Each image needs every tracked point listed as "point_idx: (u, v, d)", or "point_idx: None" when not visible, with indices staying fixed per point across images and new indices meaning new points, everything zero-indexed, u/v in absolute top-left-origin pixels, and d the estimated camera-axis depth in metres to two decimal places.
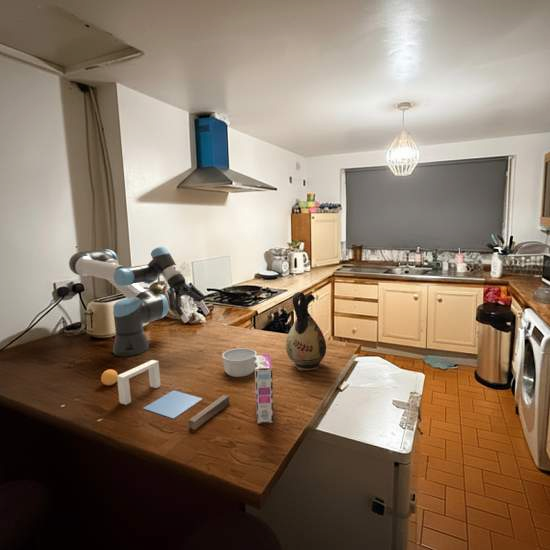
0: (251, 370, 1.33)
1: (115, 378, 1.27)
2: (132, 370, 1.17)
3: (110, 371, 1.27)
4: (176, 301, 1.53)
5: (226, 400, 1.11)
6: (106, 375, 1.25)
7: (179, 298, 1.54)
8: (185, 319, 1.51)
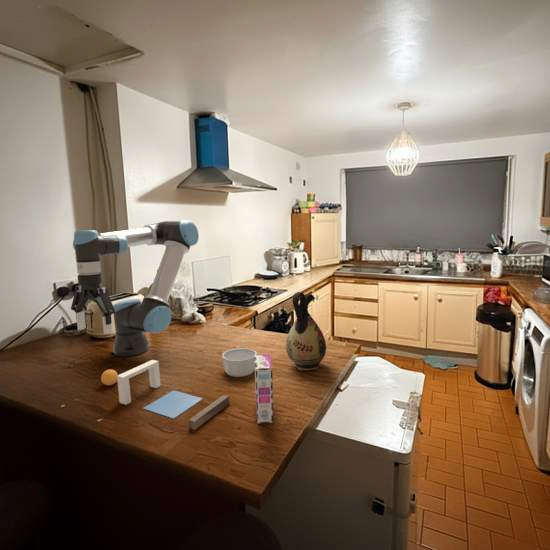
0: (251, 370, 1.33)
1: (115, 378, 1.27)
2: (132, 370, 1.17)
3: (110, 371, 1.27)
4: None
5: (226, 400, 1.11)
6: (106, 375, 1.25)
7: (79, 302, 1.29)
8: None
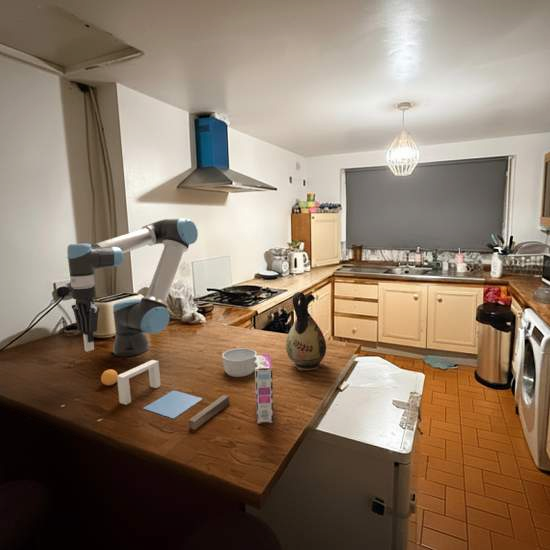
0: (251, 370, 1.33)
1: (115, 378, 1.27)
2: (132, 370, 1.17)
3: (110, 371, 1.27)
4: None
5: (226, 400, 1.11)
6: (106, 375, 1.25)
7: (81, 320, 1.29)
8: None
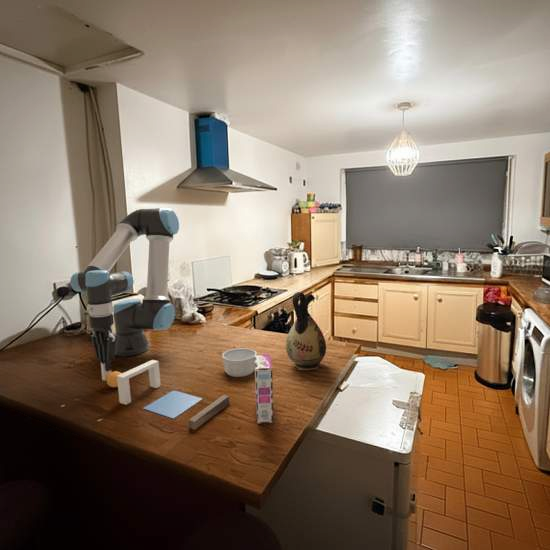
0: (251, 370, 1.33)
1: None
2: (132, 370, 1.17)
3: None
4: None
5: (226, 400, 1.11)
6: (113, 382, 1.23)
7: (98, 348, 1.25)
8: None
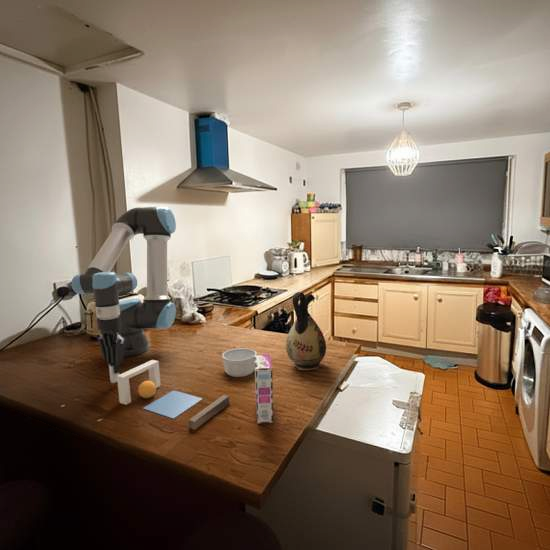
0: (251, 370, 1.33)
1: (152, 395, 1.17)
2: (132, 370, 1.17)
3: (151, 387, 1.16)
4: None
5: (226, 400, 1.11)
6: (146, 392, 1.15)
7: (106, 351, 1.24)
8: None
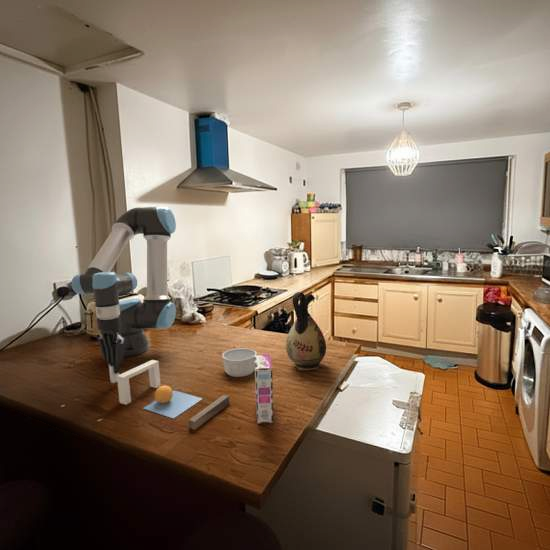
0: (251, 370, 1.33)
1: None
2: (132, 370, 1.17)
3: None
4: None
5: (226, 400, 1.11)
6: None
7: (106, 351, 1.24)
8: None
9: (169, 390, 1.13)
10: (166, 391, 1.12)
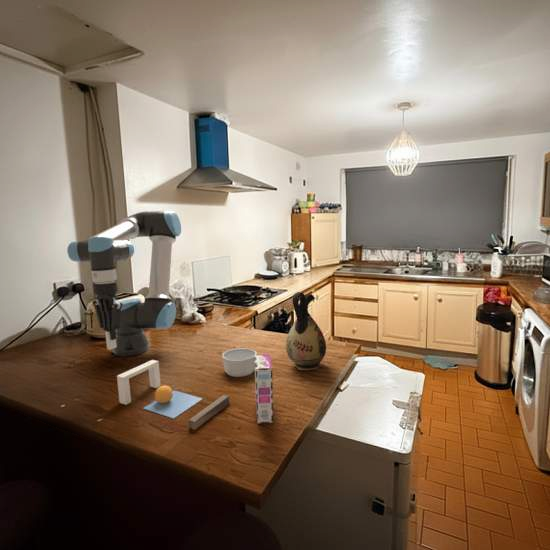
0: (251, 370, 1.33)
1: None
2: (132, 370, 1.17)
3: None
4: None
5: (226, 400, 1.11)
6: None
7: (103, 317, 1.22)
8: None
9: (169, 390, 1.13)
10: (166, 391, 1.12)
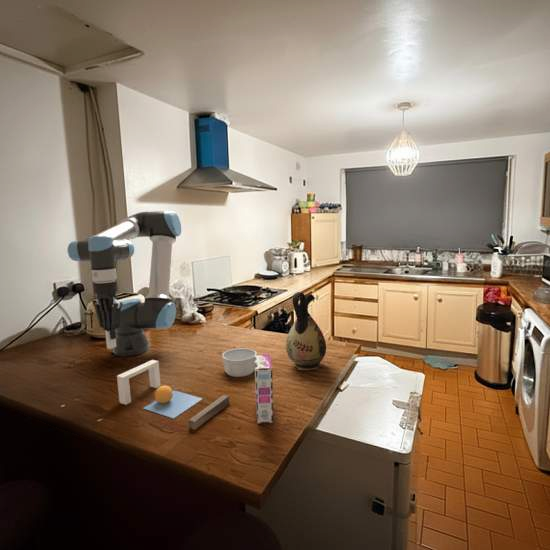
0: (251, 370, 1.33)
1: None
2: (132, 370, 1.17)
3: None
4: None
5: (226, 400, 1.11)
6: None
7: (103, 316, 1.22)
8: None
9: (169, 390, 1.13)
10: (166, 391, 1.12)
